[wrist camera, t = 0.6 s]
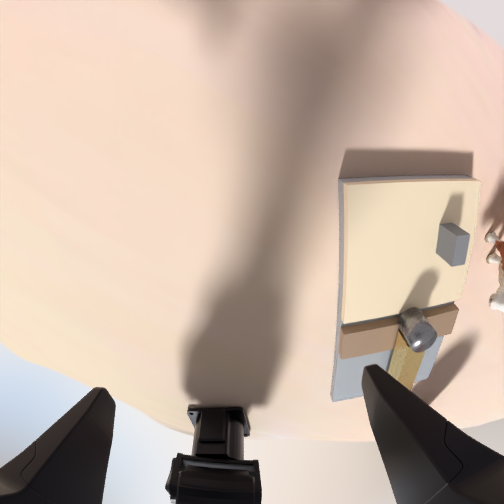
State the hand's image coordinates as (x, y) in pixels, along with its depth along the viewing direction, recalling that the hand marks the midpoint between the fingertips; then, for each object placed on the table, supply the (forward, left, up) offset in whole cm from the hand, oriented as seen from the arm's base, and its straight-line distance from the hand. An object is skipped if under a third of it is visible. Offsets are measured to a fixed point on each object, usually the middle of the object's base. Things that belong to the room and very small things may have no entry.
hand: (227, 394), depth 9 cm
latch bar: (-13, -13, -11) cm, 22 cm away
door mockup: (-8, -13, -14) cm, 21 cm away
